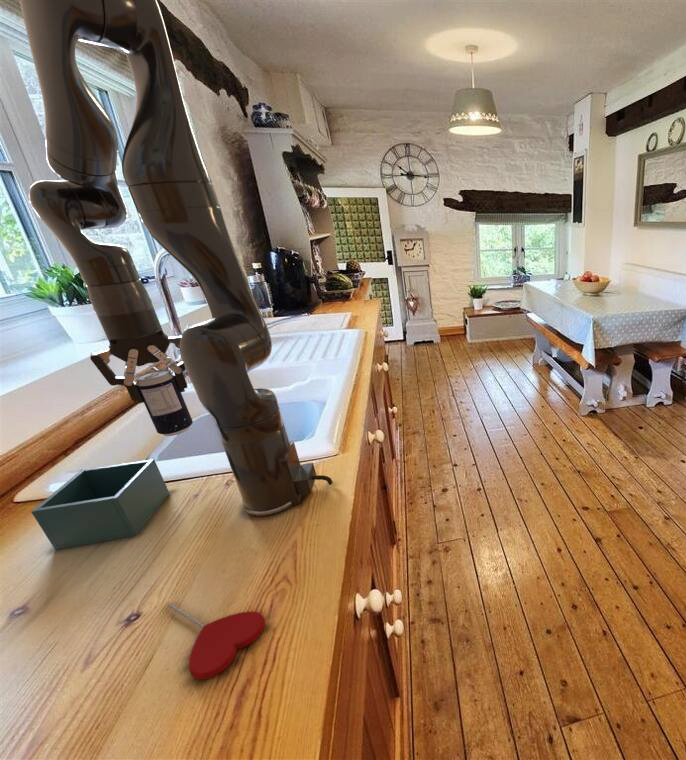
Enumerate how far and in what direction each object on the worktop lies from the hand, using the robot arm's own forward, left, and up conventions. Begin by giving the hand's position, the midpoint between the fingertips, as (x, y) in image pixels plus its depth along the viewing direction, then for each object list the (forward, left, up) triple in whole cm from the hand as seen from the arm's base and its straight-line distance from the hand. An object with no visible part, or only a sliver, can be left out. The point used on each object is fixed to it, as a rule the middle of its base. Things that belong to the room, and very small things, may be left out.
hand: (162, 395), depth 77 cm
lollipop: (-18, +41, -16) cm, 48 cm away
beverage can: (0, 0, -8) cm, 8 cm away
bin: (+6, +14, -16) cm, 22 cm away
